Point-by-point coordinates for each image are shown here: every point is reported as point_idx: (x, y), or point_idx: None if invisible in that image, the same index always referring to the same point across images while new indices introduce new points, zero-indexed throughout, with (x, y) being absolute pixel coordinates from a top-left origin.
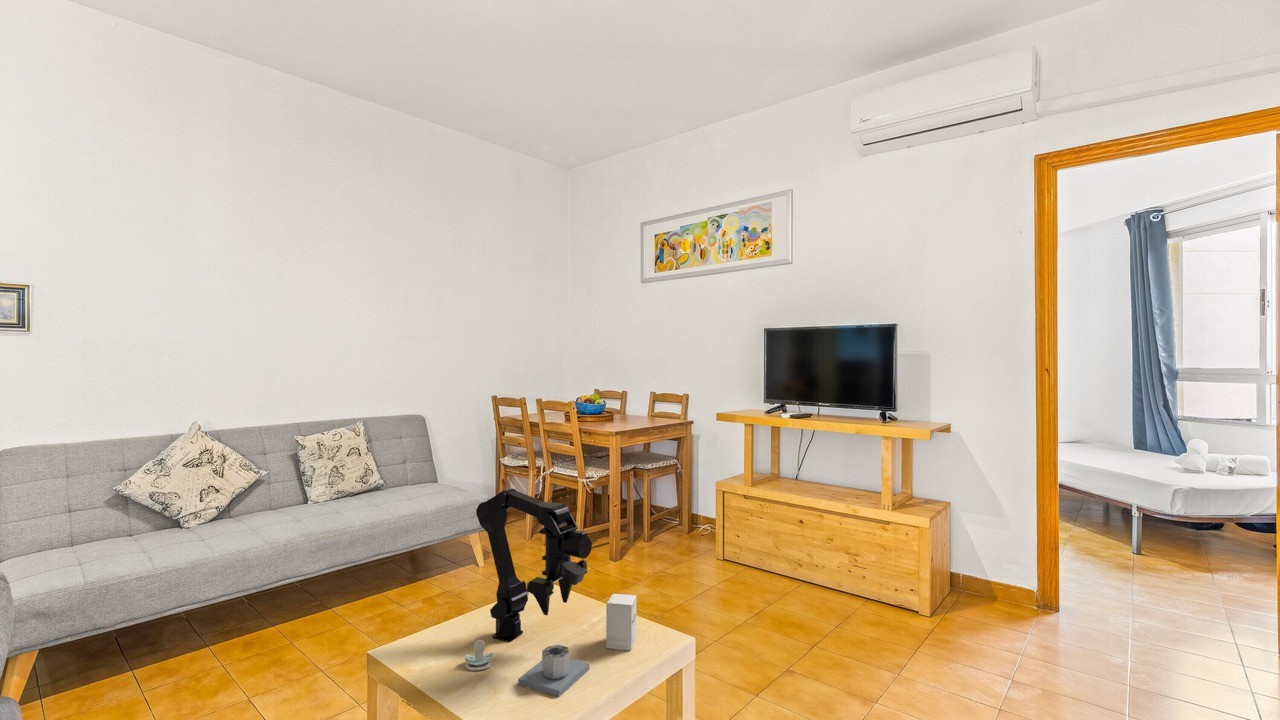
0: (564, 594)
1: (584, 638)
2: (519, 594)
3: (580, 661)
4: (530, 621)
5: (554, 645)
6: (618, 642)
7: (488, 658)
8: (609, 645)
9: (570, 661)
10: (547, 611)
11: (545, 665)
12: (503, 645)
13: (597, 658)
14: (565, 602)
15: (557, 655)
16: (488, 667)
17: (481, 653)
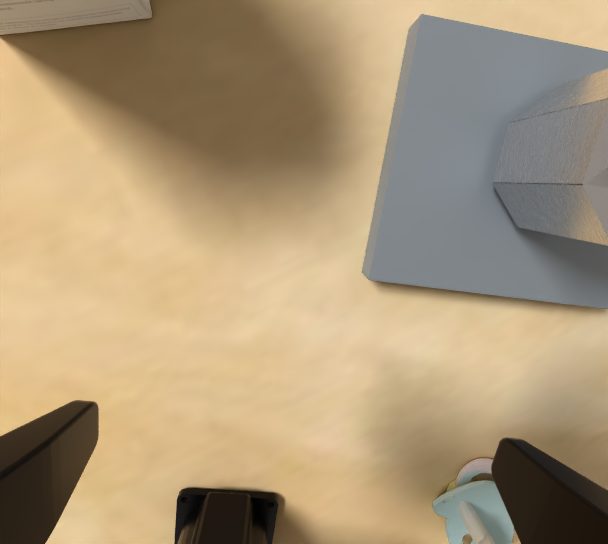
0: (13, 531)
1: (98, 201)
2: None
3: (410, 82)
4: (65, 513)
5: (596, 207)
6: None
7: (463, 491)
8: None
9: (422, 141)
10: (566, 470)
11: None
12: (308, 498)
13: (283, 29)
14: (95, 411)
15: None
16: (490, 459)
17: (486, 531)
